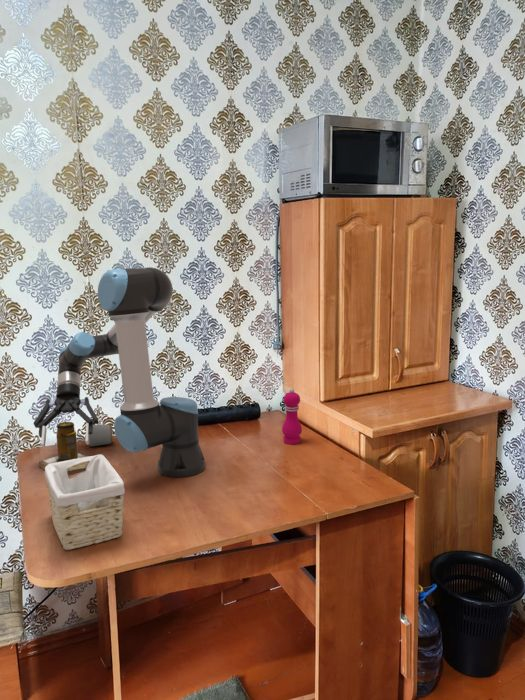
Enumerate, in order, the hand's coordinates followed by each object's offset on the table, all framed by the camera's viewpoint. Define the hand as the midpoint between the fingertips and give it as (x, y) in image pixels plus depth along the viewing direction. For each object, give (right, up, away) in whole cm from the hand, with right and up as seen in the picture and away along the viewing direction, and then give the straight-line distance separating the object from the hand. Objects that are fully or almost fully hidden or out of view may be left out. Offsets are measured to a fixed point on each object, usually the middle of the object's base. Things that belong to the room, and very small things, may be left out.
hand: (65, 444), depth 182 cm
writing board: (0, -8, +4) cm, 9 cm away
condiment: (0, -6, +4) cm, 7 cm away
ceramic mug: (+4, -4, +25) cm, 25 cm away
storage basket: (+18, -15, -35) cm, 43 cm away
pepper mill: (+74, -3, +24) cm, 78 cm away
